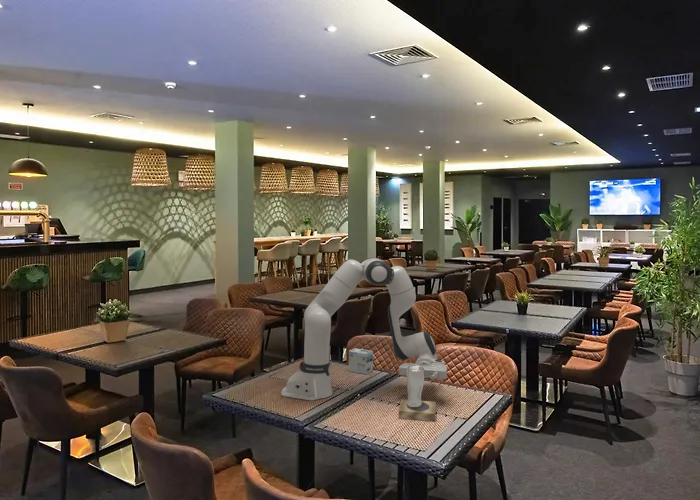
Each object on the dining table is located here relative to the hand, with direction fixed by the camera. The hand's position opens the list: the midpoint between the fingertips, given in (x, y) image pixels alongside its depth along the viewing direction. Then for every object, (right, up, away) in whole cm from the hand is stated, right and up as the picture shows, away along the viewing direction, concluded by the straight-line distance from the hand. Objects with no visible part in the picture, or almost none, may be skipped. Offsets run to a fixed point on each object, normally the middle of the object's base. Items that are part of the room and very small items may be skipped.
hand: (420, 376), depth 210 cm
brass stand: (-2, -13, -5) cm, 15 cm away
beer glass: (-3, -10, -5) cm, 12 cm away
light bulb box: (-23, -10, +49) cm, 55 cm away
